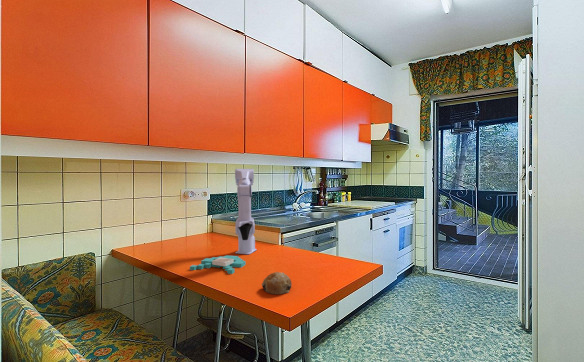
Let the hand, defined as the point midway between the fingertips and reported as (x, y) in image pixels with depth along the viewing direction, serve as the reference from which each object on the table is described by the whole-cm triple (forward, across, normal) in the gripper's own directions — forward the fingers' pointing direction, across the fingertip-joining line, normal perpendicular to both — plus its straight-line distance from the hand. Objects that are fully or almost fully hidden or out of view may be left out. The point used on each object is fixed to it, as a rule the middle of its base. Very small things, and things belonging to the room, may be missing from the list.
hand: (245, 239), depth 147 cm
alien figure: (+11, -7, +8) cm, 16 cm away
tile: (+8, -6, +6) cm, 12 cm away
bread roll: (+11, -27, -26) cm, 39 cm away
